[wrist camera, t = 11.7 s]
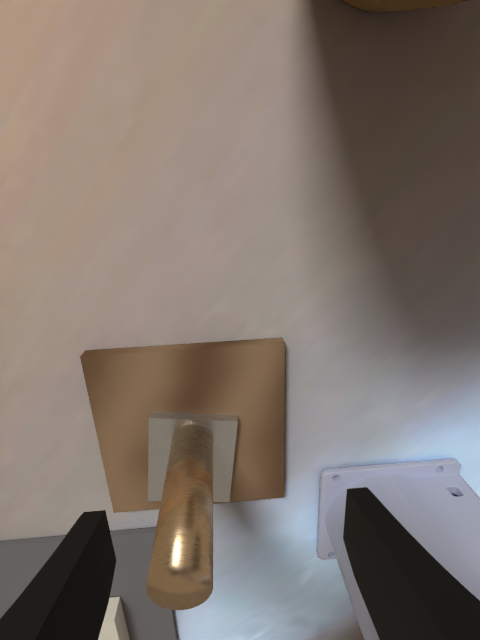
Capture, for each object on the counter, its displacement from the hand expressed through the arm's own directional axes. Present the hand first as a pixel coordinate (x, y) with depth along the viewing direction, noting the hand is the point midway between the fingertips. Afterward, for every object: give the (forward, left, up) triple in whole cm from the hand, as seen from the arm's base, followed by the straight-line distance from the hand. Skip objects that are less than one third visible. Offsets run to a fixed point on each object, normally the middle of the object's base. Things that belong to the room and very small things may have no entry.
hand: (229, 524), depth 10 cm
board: (+2, +4, -10) cm, 11 cm away
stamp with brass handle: (+2, +5, -10) cm, 11 cm away
